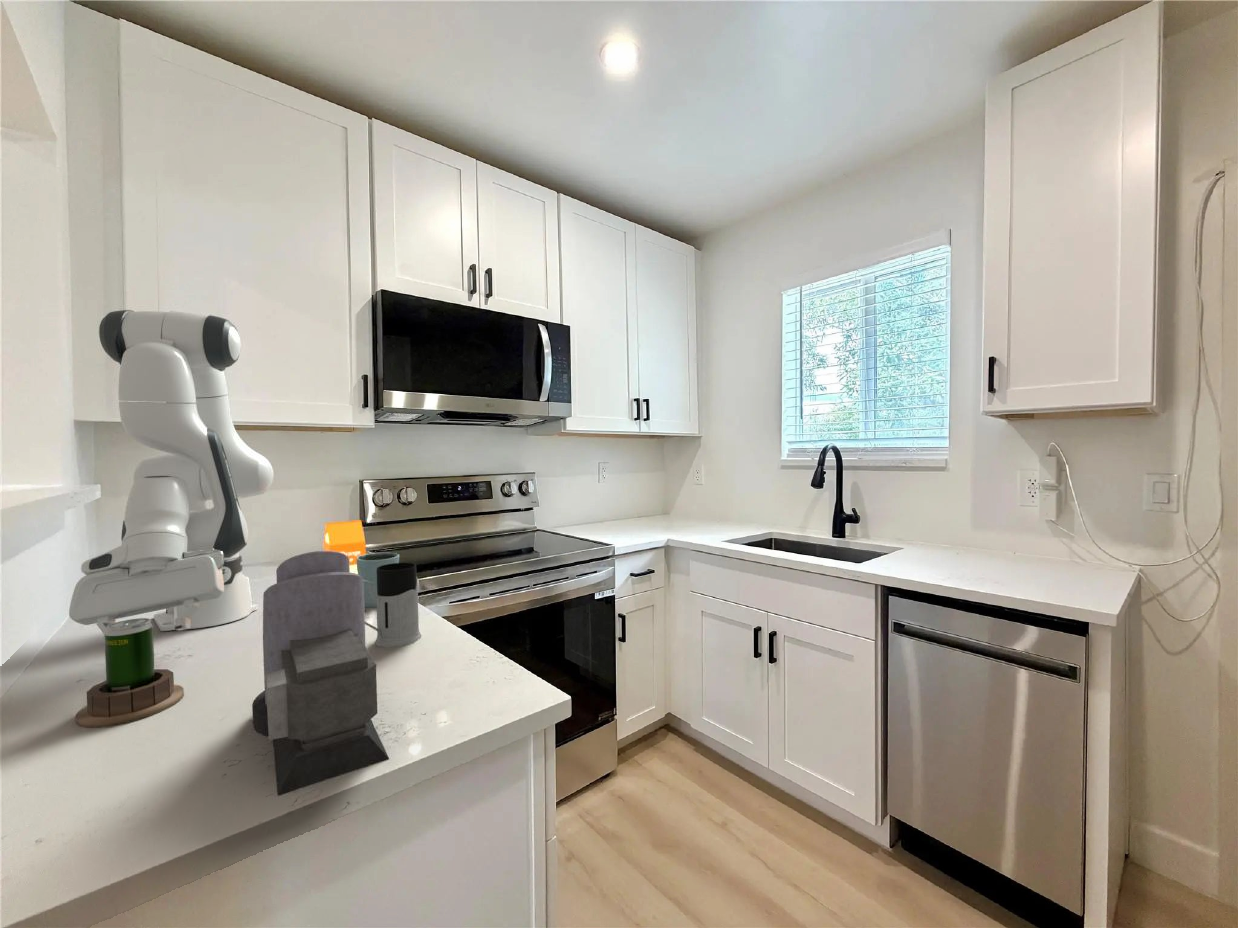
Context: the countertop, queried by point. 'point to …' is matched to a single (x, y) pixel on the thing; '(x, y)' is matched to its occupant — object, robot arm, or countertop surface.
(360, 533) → the orange juice
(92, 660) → the countertop surface
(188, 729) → the countertop surface
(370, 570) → the teal cup
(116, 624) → the beer can
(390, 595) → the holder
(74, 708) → the countertop surface
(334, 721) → the juicer
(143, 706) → the collar coaster
